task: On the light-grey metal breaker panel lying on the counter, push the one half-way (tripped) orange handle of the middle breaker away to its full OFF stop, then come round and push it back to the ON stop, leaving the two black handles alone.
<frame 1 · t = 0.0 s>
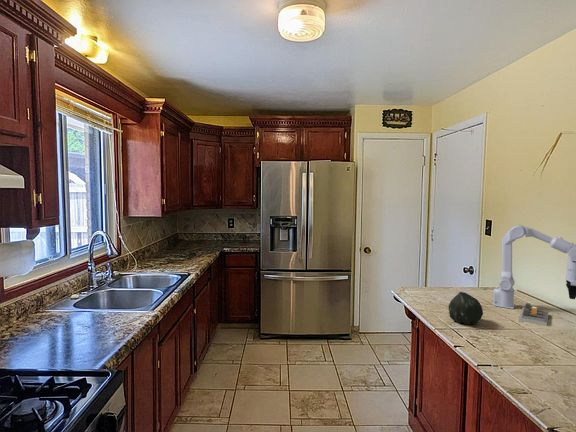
hand: (572, 297, 182), 10 cm above the countertop, fingers open, 7 cm apart
squash: (464, 322, 175), on the countertop
panel: (533, 317, 182), on the countertop
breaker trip: (534, 310, 181), point 3 cm above the countertop, slide at 3.0 cm
breaker a: (527, 307, 188), point 3 cm above the countertop, slide at 0.0 cm
breaker c: (526, 312, 179), point 3 cm above the countertop, slide at 0.0 cm
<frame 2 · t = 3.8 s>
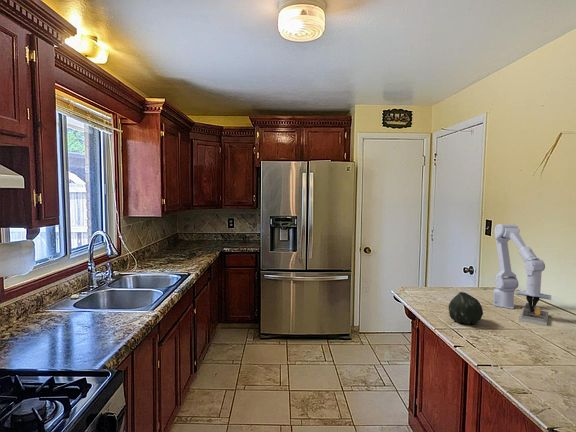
hand: (532, 311, 182), 3 cm above the countertop, fingers closed
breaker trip: (537, 311, 181), point 3 cm above the countertop, slide at 4.4 cm, touching gripper
everything else where it was.
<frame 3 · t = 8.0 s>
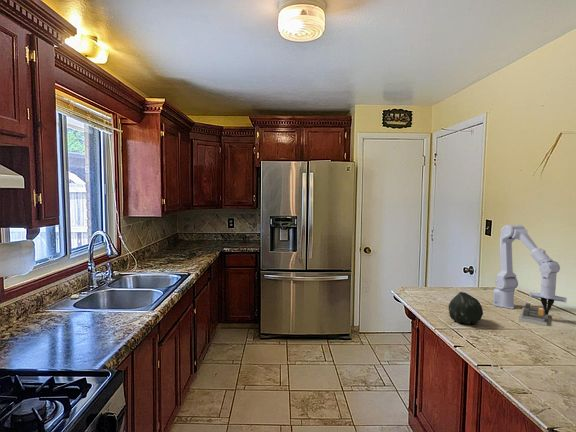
hand: (546, 314, 179), 3 cm above the countertop, fingers closed
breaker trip: (540, 311, 180), point 3 cm above the countertop, slide at 5.7 cm, touching gripper
everything else where it was.
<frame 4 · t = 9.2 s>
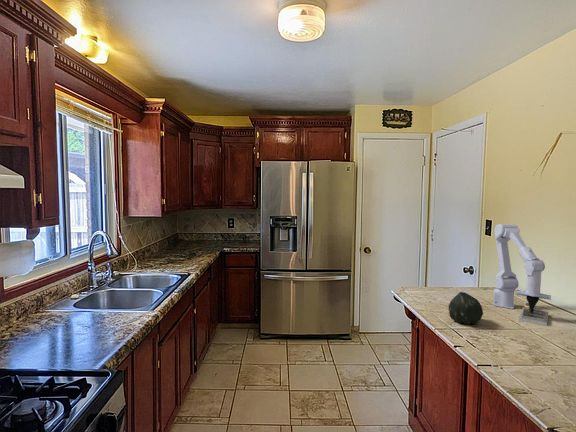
hand: (531, 311, 182), 3 cm above the countertop, fingers closed
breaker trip: (526, 309, 183), point 3 cm above the countertop, slide at -0.1 cm, touching gripper
everything else where it was.
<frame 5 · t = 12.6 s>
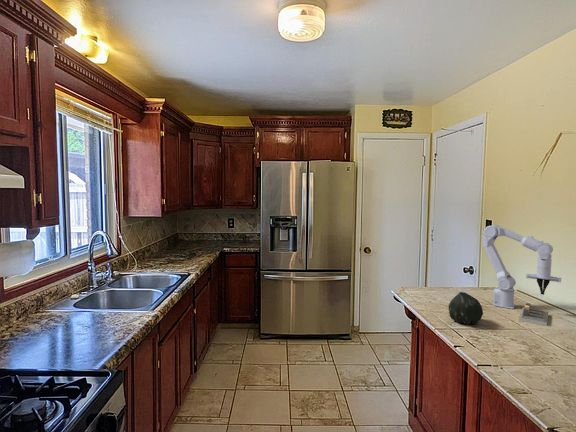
hand: (542, 294, 188), 10 cm above the countertop, fingers closed
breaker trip: (526, 309, 183), point 3 cm above the countertop, slide at -0.1 cm
everything else where it was.
at the end: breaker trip slide at -0.1 cm; breaker c slide at 0.0 cm; breaker a slide at 0.0 cm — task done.
